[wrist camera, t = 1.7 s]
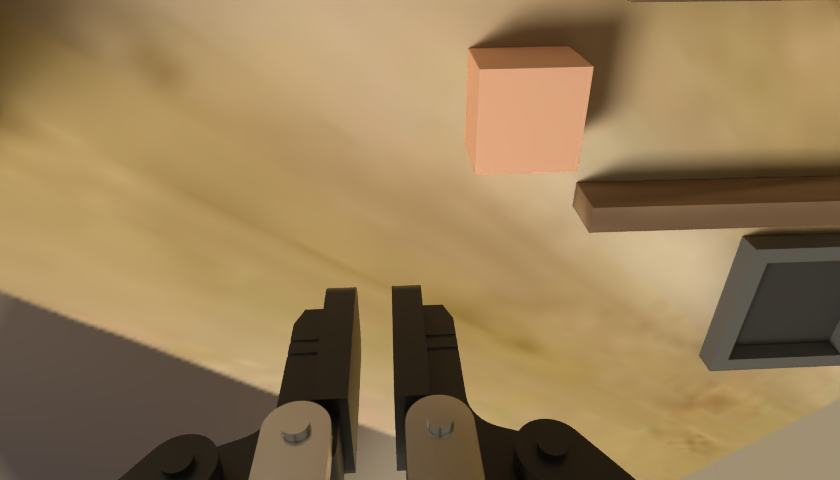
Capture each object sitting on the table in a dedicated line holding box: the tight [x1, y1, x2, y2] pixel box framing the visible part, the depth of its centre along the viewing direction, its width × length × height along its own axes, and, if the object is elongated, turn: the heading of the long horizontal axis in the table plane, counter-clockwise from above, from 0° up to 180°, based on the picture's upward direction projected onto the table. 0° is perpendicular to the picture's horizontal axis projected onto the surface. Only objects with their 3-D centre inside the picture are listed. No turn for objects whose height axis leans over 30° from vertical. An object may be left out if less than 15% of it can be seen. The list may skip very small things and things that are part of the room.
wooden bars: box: [573, 0, 840, 233], centre depth 28 cm, size 13×16×3 cm
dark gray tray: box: [699, 233, 840, 371], centre depth 36 cm, size 10×10×2 cm
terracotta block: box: [465, 46, 594, 175], centre depth 27 cm, size 5×5×4 cm
